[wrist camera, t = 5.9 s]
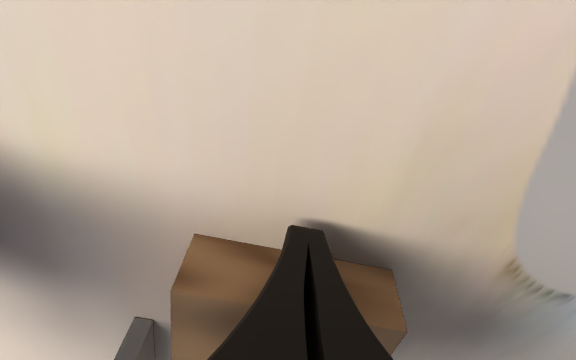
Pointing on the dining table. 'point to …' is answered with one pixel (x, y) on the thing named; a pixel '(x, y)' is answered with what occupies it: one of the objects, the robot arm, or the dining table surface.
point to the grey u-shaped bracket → (138, 341)
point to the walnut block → (247, 286)
